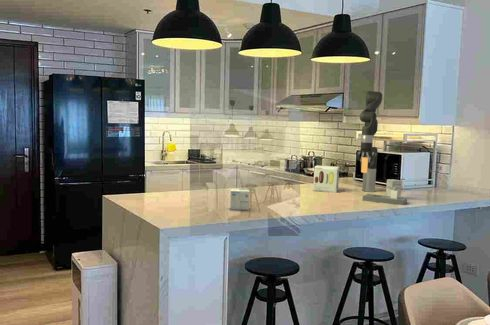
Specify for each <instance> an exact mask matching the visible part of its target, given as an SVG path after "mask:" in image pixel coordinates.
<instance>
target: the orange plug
mask: <svg viewBox="0 0 490 325" xmlns="http://www.w3.org/2000/svg"><path fill="white" fill-rule="evenodd" d="M360 172H361V173H362V174H363V173H369V168H368V158H367V157H362V166H360Z"/></svg>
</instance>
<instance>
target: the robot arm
mask: <svg viewBox="0 0 490 325" xmlns="http://www.w3.org/2000/svg"><path fill="white" fill-rule="evenodd" d="M382 101H383V93H382V92H380V91H374V90H373V91H370V90H369V91H367V92H366V94H365V109H363V111H361V112H360V114H359V120H360V121H361V122H362V123H364V126H362V128H361V138H360V150H359V151H356V152H355V154H356V158H357V161H358V162H360V165H359V166H360V167H361V166H362V157H367V158H368V168H369V173H363V172H362V186H361V187H362V189H361V191H362V192H366V193H374V192H376V178H377V162H378V161H377V160H378V153H379V152H378V148H377V147H375V146H373V143H374V142H373V139H374V136H375V135H376V134H377V132H378V126H379V121H378V120H377V113H376V112H377V109H378V108H379V107H380V105H381V104H382ZM360 155H361V156H360Z"/></svg>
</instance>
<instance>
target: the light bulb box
mask: <svg viewBox="0 0 490 325" xmlns="http://www.w3.org/2000/svg"><path fill="white" fill-rule="evenodd" d="M229 203H230V204H229V205H230V206H229V207H230V210H239V211H240V210H242V211H244V210H245V211H246V210H247V211H249V210H250V189H230V202H229Z"/></svg>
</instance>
